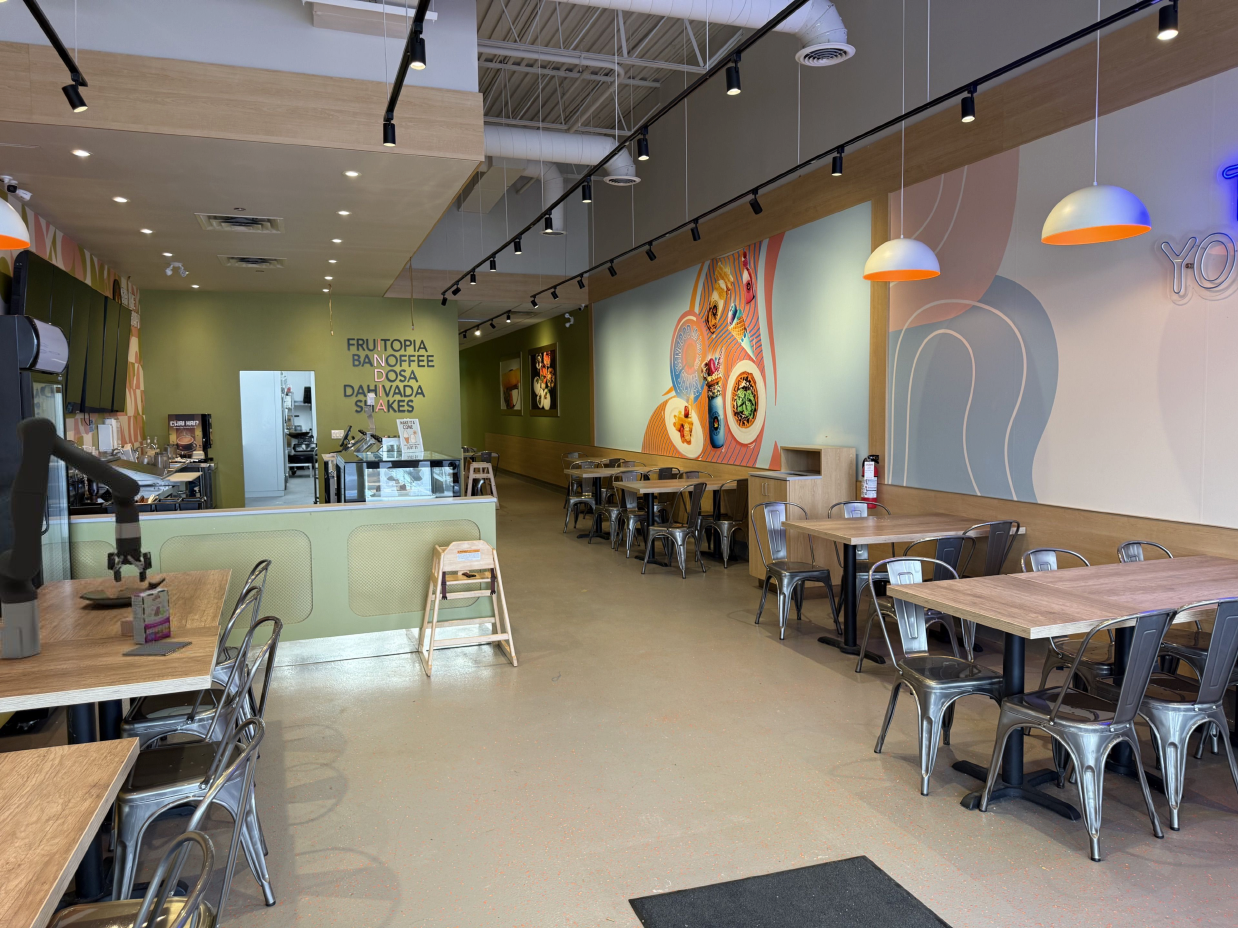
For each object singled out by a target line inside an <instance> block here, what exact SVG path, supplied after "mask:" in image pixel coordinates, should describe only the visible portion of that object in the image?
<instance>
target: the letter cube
mask: <svg viewBox="0 0 1238 928" xmlns="http://www.w3.org/2000/svg"><path fill="white" fill-rule="evenodd" d="M119 622H120V636H128V635H127V634H132V635H131V636H134V630H133V616H130V617H127V618H124V619H121V620H119Z"/></svg>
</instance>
